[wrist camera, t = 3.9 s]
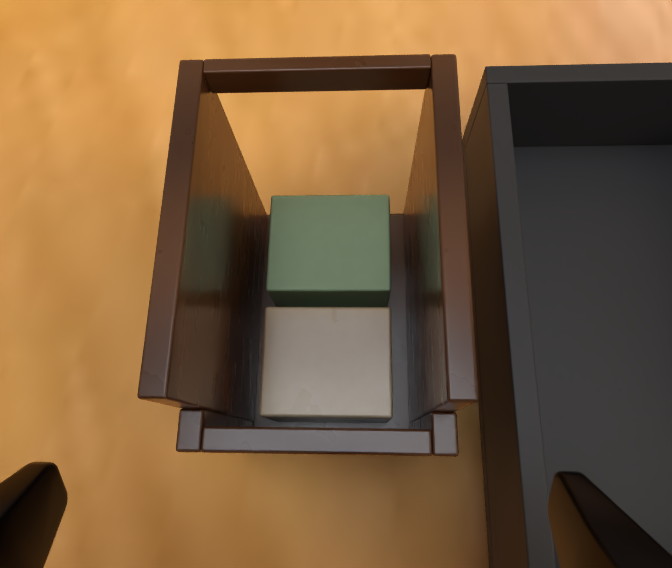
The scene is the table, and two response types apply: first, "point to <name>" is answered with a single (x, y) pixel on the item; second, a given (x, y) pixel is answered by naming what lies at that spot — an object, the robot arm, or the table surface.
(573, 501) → the robot arm
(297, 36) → the table surface
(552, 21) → the table surface
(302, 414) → the birch block
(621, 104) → the bin
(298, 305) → the sage block
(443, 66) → the brown wooden holder
